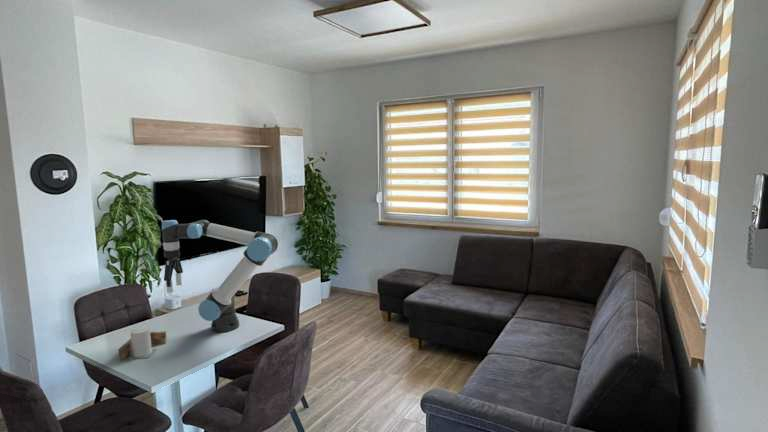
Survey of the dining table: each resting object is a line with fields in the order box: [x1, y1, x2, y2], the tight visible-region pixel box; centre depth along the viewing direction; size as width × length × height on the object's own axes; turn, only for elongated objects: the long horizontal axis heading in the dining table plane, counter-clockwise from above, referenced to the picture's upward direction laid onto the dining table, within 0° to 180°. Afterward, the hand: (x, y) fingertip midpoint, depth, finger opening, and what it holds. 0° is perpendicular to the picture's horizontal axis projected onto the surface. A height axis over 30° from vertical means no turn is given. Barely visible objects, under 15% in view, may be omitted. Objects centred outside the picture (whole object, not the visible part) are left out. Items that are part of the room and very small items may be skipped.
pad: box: [126, 348, 158, 360], centre depth 207 cm, size 10×10×1 cm
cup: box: [130, 326, 153, 357], centre depth 206 cm, size 8×8×12 cm
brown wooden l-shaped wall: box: [117, 330, 168, 362], centre depth 210 cm, size 14×20×6 cm
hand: (174, 288), depth 224 cm, fingers open, 13 cm apart
